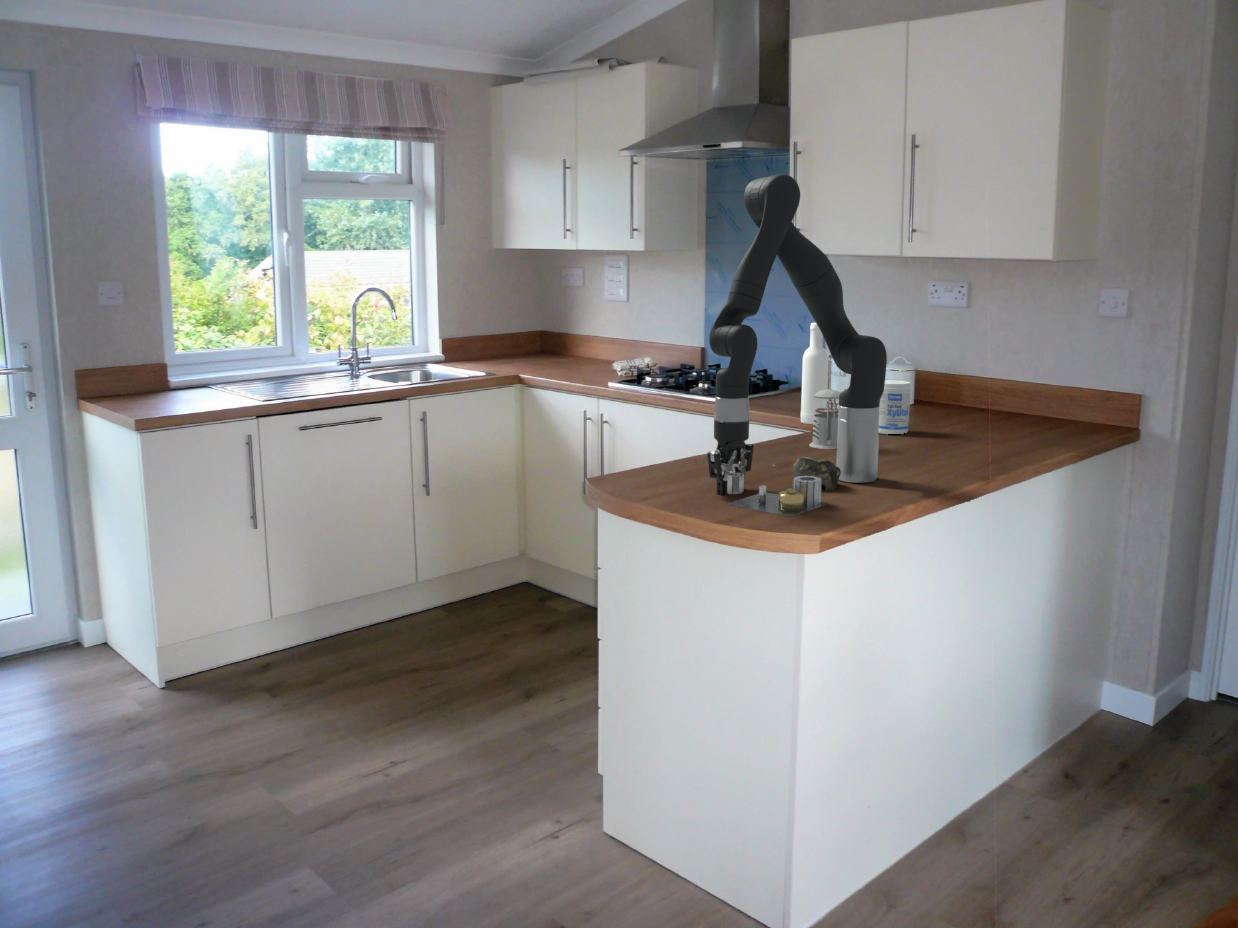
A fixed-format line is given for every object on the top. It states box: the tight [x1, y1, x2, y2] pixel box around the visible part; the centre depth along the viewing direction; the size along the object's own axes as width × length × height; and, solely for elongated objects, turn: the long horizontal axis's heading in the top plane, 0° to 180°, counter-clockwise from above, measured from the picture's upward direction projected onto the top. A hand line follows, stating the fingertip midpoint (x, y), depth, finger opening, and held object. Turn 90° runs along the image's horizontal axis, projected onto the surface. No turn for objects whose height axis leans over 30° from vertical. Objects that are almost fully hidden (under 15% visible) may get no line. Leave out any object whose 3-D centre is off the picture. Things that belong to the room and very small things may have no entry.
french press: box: [808, 352, 842, 450], centre depth 287 cm, size 10×12×25 cm
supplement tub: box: [878, 379, 912, 435], centre depth 308 cm, size 10×10×15 cm
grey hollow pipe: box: [792, 476, 822, 506], centre depth 223 cm, size 6×6×5 cm
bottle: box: [800, 322, 830, 425], centre depth 324 cm, size 8×8×30 cm
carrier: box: [726, 484, 829, 518], centre depth 222 cm, size 14×16×5 cm
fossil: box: [791, 456, 841, 491], centre depth 238 cm, size 11×9×10 cm
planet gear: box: [722, 471, 745, 495], centre depth 233 cm, size 6×6×5 cm
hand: (730, 494), depth 234 cm, fingers closed on planet gear, 5 cm apart
